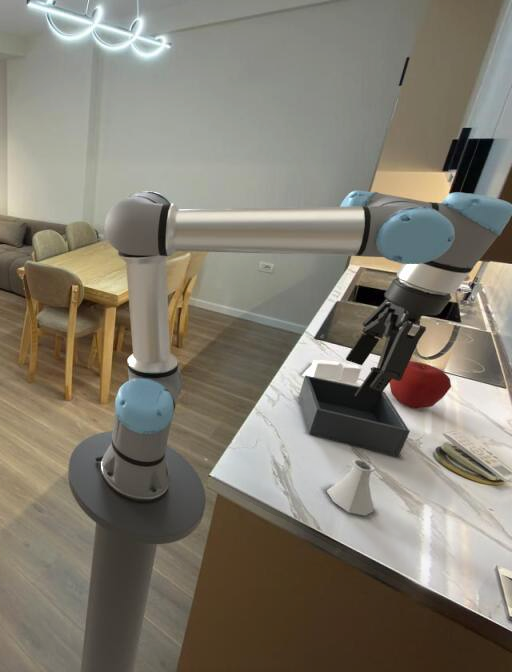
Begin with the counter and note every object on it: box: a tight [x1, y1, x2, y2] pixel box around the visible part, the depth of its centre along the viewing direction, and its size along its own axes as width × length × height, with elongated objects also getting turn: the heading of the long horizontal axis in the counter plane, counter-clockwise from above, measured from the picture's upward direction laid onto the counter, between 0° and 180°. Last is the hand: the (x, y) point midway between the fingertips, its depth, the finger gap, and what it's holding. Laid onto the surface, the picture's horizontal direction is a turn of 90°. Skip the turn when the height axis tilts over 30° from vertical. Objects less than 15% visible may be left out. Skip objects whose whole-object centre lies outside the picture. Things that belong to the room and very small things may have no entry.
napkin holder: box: [301, 359, 364, 387], centre depth 125 cm, size 15×11×6 cm
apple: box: [389, 360, 452, 410], centre depth 112 cm, size 12×12×13 cm
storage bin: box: [298, 375, 410, 458], centre depth 105 cm, size 18×18×8 cm
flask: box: [326, 458, 376, 517], centre depth 82 cm, size 7×7×10 cm
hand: (358, 379), depth 77 cm, fingers open, 13 cm apart
